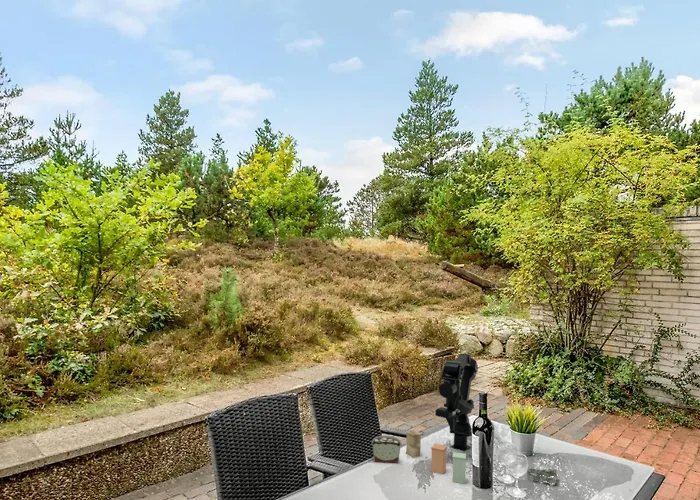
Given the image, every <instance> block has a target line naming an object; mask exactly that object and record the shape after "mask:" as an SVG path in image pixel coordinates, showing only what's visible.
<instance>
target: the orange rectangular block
mask: <svg viewBox="0 0 700 500" xmlns="http://www.w3.org/2000/svg"><path fill="white" fill-rule="evenodd" d="M430 448H431V473H432V472H433V473H437V474H441V475H443V474H444V473H445V472H446V471H447V449H448V448H447V446H446V445H442V444H439V443H438V444H437V443H434V444H433V445H432V446H431V447H430Z"/></svg>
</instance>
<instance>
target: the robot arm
mask: <svg viewBox="0 0 700 500" xmlns="http://www.w3.org/2000/svg"><path fill="white" fill-rule="evenodd" d="M478 371H479V366H478V362H477V361H476V360H475V359H474V358H472V355H471V354H469V353H459V354H458V356H457V357H456V358H455V359H454V360H447V361H445V363H444V364H443V367H442V372H441V377H440V379H441V380H443V383H442V384H441V385H440V386H439V387H438V393H439V395H440V396H441V397H442V398H445V402H444V404H443V406H440V407H438V408H436V409H435V412H434V413H435V416H436V417H439V418H443V419H445V420H446V422H447V423H448V427H449V433H450V434H453V444H452V445H450V448H451V449H454V450H458V451H461V452H465V451H467V450H468V449H470V448H471V446H470V445H468V438H470V437H471V436H472V435H473V432H472V431H473V430H472V426H471V423H470V418H469V416H468V415H469V414H471V413H472V411H473V409H475V405H474V400H473V399H471V398H470V393H471V387H472V382H473V380H475V379H476V376H477V373H478Z"/></svg>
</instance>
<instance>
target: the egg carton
mask: <svg viewBox="0 0 700 500" xmlns="http://www.w3.org/2000/svg"><path fill="white" fill-rule="evenodd" d="M532 473H533V474H532ZM540 475H544V476H540ZM545 476H546V477H545ZM550 476H554V477H553V478H548V477H550ZM526 479H527V480H529V481H530V482H532V481H533V480H538V481H540V482H543V481H547V482H549V483H551V484H552V483H556V484H557V482H556V479H558V470H557V469H554V468H548V469H545V468H543V469H540V468H532V467H529V466H528V467H527V469H526ZM538 481H537V482H538ZM533 482H534V481H533Z"/></svg>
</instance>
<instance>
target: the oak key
mask: <svg viewBox="0 0 700 500" xmlns="http://www.w3.org/2000/svg"><path fill="white" fill-rule="evenodd" d="M405 434H406V444H405V446H406V447H405V449H406V455H408V456H409V457H411V458H412V459H413V458H417V457H421V438H422V433H421V432H419V431H417V430H415V429H414V430H413V429H412V430H407V431H405Z"/></svg>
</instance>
